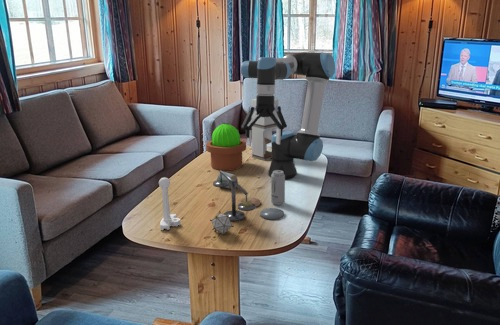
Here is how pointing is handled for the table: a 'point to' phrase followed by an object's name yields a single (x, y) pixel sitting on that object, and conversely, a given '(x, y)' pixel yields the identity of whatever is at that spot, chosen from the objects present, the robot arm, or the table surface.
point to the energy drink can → (277, 187)
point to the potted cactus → (226, 148)
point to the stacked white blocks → (262, 134)
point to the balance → (245, 203)
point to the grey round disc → (272, 213)
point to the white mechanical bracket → (167, 207)
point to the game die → (221, 223)
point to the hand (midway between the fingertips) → (263, 144)
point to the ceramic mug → (227, 179)
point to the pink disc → (254, 201)
